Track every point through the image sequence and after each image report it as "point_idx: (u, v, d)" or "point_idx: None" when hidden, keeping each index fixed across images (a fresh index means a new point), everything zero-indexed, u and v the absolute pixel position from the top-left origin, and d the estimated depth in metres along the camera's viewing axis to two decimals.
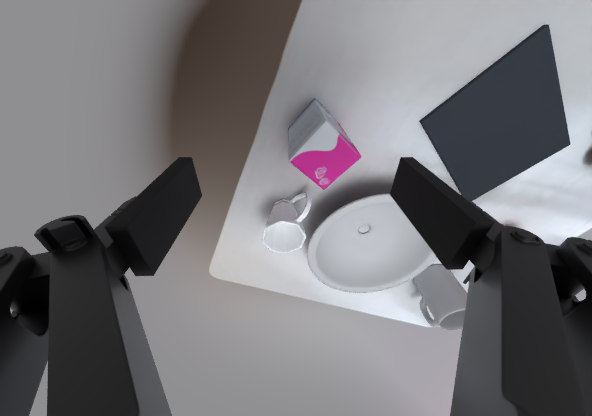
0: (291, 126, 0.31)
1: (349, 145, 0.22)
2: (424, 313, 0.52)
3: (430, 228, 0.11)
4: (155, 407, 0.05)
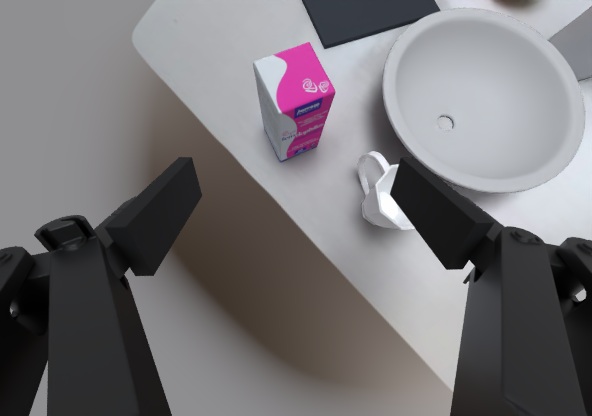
0: (277, 155, 0.29)
1: None
2: None
3: (430, 228, 0.11)
4: (155, 407, 0.05)
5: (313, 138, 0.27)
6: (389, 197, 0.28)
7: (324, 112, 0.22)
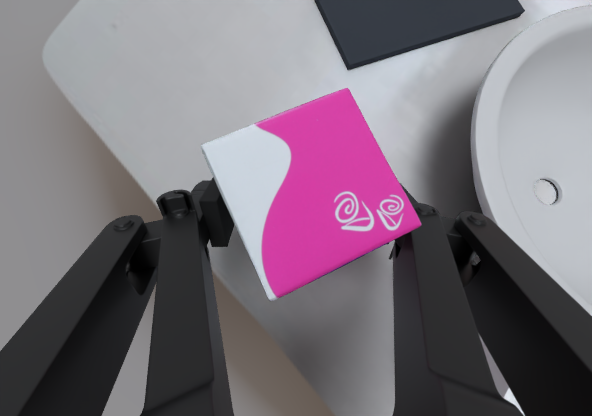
0: None
1: (299, 107, 0.07)
2: None
3: None
4: (221, 374, 0.05)
5: None
6: None
7: None
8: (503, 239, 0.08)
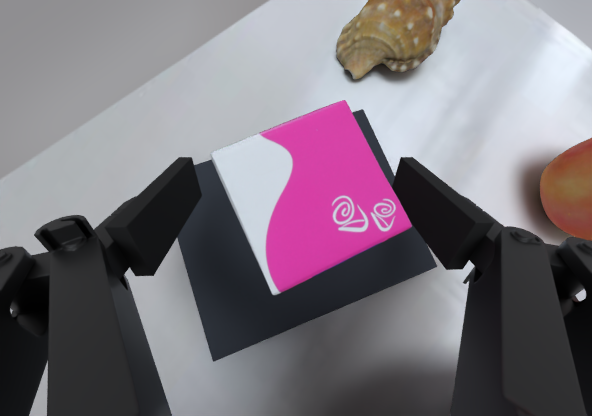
0: None
1: (300, 118, 0.08)
2: None
3: (430, 228, 0.11)
4: (155, 407, 0.05)
5: None
6: None
7: None
8: None
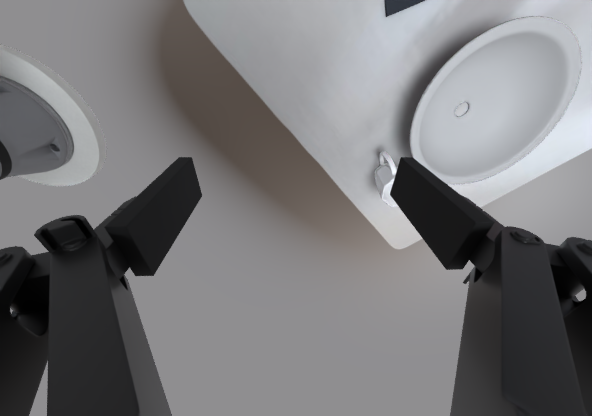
0: None
1: None
2: None
3: (430, 228, 0.11)
4: (155, 407, 0.05)
5: None
6: None
7: None
8: None
